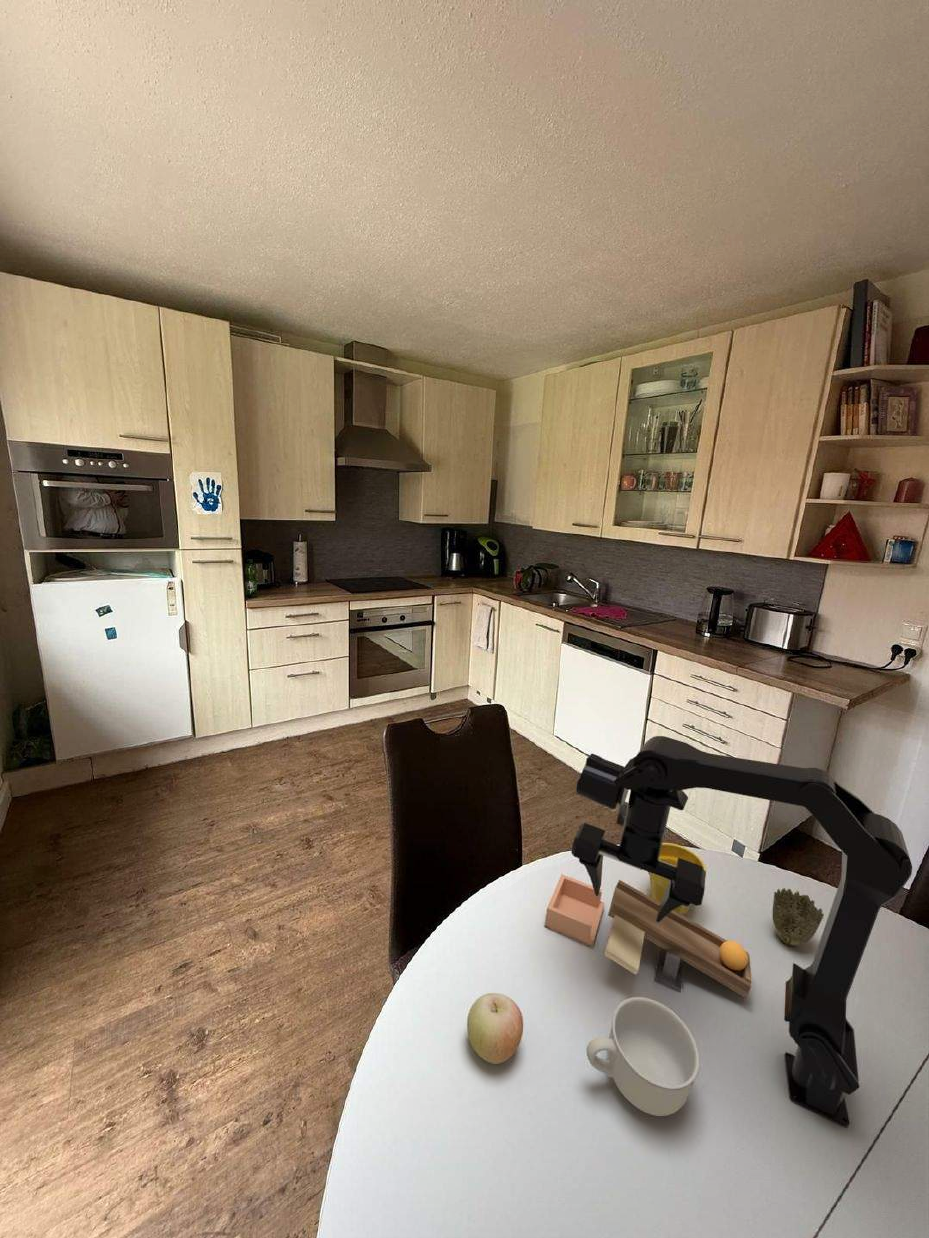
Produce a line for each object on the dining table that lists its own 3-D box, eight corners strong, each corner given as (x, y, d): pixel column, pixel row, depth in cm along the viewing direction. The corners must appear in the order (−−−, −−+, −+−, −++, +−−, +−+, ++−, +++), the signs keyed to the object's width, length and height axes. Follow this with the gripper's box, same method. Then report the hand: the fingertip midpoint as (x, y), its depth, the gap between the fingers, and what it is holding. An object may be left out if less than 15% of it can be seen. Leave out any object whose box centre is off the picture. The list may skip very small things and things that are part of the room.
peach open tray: (592, 947, 87) (595, 928, 86) (544, 926, 90) (547, 907, 89) (603, 909, 95) (606, 891, 94) (559, 891, 99) (561, 874, 98)
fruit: (474, 1082, 66) (479, 1034, 64) (460, 1025, 72) (464, 980, 71) (528, 1068, 68) (535, 1021, 66) (509, 1014, 75) (515, 971, 73)
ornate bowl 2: (822, 960, 88) (833, 922, 86) (780, 956, 88) (790, 918, 86) (796, 925, 95) (806, 889, 93) (756, 921, 95) (766, 885, 93)
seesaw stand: (680, 992, 80) (686, 966, 79) (654, 980, 82) (659, 955, 80) (684, 936, 91) (689, 913, 89) (661, 927, 92) (665, 904, 91)
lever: (747, 1044, 71) (755, 1032, 70) (598, 951, 79) (604, 939, 78) (742, 961, 84) (749, 950, 84) (615, 888, 92) (620, 877, 91)
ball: (742, 981, 80) (752, 963, 78) (715, 966, 81) (725, 948, 80) (740, 961, 83) (751, 944, 82) (715, 947, 84) (725, 929, 83)
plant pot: (629, 887, 101) (637, 845, 99) (672, 879, 104) (680, 838, 102) (663, 929, 92) (673, 884, 89) (709, 919, 95) (719, 875, 93)
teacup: (674, 1047, 72) (684, 1002, 70) (701, 1141, 61) (714, 1091, 59) (575, 1031, 73) (582, 987, 71) (584, 1120, 62) (593, 1071, 61)
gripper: (715, 814, 78) (694, 897, 82) (595, 775, 86) (580, 852, 90) (714, 857, 68) (689, 949, 72) (578, 808, 76) (563, 894, 80)
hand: (626, 906), depth 79 cm, fingers open, 9 cm apart
